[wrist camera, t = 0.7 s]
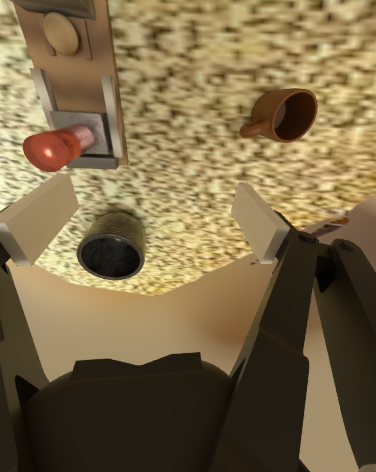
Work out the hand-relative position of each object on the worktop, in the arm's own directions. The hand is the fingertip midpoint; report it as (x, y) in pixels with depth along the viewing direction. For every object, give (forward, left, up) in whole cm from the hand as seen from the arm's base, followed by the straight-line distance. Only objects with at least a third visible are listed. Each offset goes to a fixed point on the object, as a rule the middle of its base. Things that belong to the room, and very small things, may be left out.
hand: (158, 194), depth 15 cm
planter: (+24, +5, -29) cm, 38 cm away
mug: (-16, +12, -29) cm, 35 cm away
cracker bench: (+3, -15, -28) cm, 32 cm away
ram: (+8, -11, -26) cm, 29 cm away
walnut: (-1, -18, -26) cm, 32 cm away
